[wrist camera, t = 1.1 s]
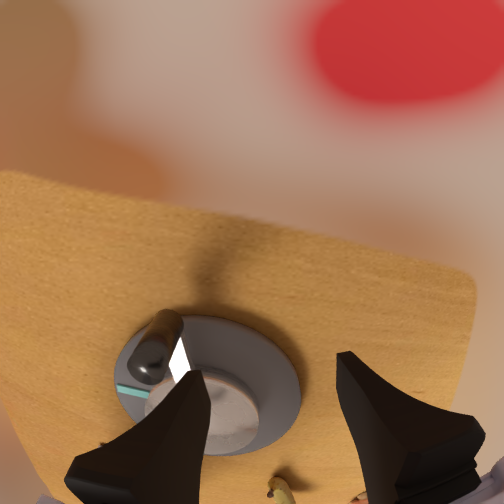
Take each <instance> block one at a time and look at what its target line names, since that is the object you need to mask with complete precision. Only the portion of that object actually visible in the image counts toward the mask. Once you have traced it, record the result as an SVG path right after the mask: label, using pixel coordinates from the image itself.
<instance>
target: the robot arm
mask: <svg viewBox="0 0 504 504" xmlns="http://www.w3.org/2000/svg"><path fill="white" fill-rule="evenodd" d="M336 390H337V394H338V398H339V402H340V406H341V409H342V412H343V414H344V417H345V419H346V422H347V425H348V427H349V430H350V432H351V435H352V437H353V440H354V443H355V445H356V448H357V452H358V455H359V459H360V464H361V468H362V472H363V477H364V482H365V487H366V492H367V498H368V504H504V457H502V458H501V459H500V460H499V461H497V462H496V464H495V465H494V466H493V467H492V469H491V471H490V472H489V473H487V474H485V475H483V476H482V477H479V475H478V474H477V472H476V470H475V468H476V467H477V463H476V461H475V460H474V457H475V456H476V454H477V453H478V451H479V449H480V448H481V446H482V444H483V442H484V440H485V434H486V433H485V432H484V430H483V429H482V427H481V426H480V424H479V423H478V421H477V420H476V419H475V418H474V417H473V416H470V415H465V414H459V413H455V412H450V411H447V410H444V409H440V408H437V407H434V406H431V405H429V404H427V403H424V402H422V401H419V400H417V399H415V398H413V397H411V396H409V395H407V394H406V393H404V392H402V391H400V390H399V389H397V388H395V387H394V386H393V385H391V384H390V383H388V382H387V381H385V380H384V379H383V378H381V377H380V376H379V375H378V374H376V373H375V372H374V371H373V370H372V369H370V368H369V367H368V366H367V365H366V364H365V363H364V362H362V361H361V360H360V359H359V358H358V357H357V356H356V355H355V354H354V353H353V352H351V351H347V352H341V353H337V370H336ZM210 417H211V400H210V397H209V394H208V391H207V388H206V385H205V381H204V378H203V375H202V372H201V370H188V371H187V372H186V373H185V374H184V375H183V376H182V378H181V379H180V380H179V381H178V382H177V384H176V385H175V386H174V387H173V388H172V390H171V391H170V392H169V393H168V394H167V395H166V397H165V398H164V399H163V400H162V401H161V402H160V403H159V404H158V405H157V406H156V407H155V408H154V409H153V410H152V411H151V412H150V413H149V414H148V415H147V416H146V417H145V418H144V419H142V420H141V421H140V422H139V423H137V424H136V425H135V426H134V427H132V428H131V429H129V430H128V431H126V432H125V433H123V434H122V435H120V436H119V437H117V438H116V439H114V440H112V441H110V442H109V443H107V444H105V445H103V446H98V448H97V449H94V450H92V451H89V452H87V453H84V454H81V455H79V456H76V457H75V458H74V460H73V462H72V464H71V466H70V468H69V470H68V472H67V474H66V476H65V478H64V482H65V484H66V486H67V487H68V489H69V490H70V491H71V492H72V493H73V494H74V495H75V496H76V497H77V498H79V499H80V500H81V501H82V502H83V503H84V504H199V490H200V474H201V465H202V460H203V455H204V450H205V445H206V440H207V436H208V431H209V426H210ZM36 504H64V503H63V502H61V501H59V500H56V499H54V498H51V497H49V496H46V495H44V494H41V496H40V497H39V499H38V501H37V503H36Z"/></svg>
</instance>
